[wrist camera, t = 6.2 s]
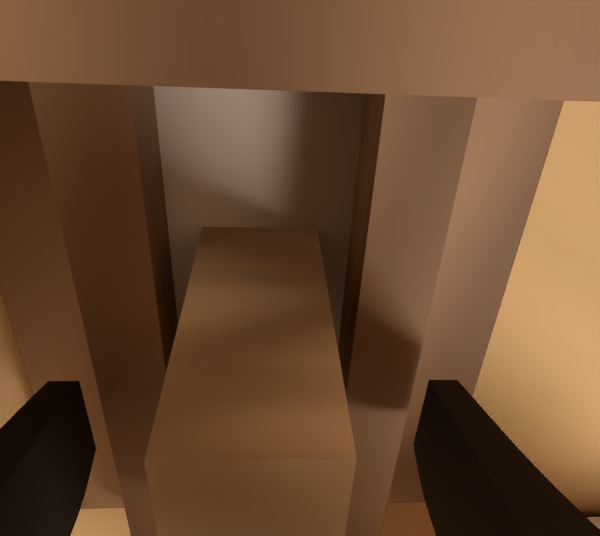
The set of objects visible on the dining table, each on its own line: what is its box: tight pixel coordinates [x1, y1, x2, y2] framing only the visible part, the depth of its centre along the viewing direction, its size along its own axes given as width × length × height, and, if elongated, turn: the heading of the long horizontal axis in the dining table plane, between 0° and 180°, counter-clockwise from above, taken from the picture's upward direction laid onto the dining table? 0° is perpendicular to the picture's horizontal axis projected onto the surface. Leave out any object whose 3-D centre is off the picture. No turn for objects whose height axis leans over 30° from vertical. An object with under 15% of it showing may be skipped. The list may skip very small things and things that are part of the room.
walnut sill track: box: [0, 0, 600, 536], centre depth 11 cm, size 12×16×5 cm
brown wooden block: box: [144, 227, 357, 536], centre depth 10 cm, size 3×7×6 cm, turn 177°
